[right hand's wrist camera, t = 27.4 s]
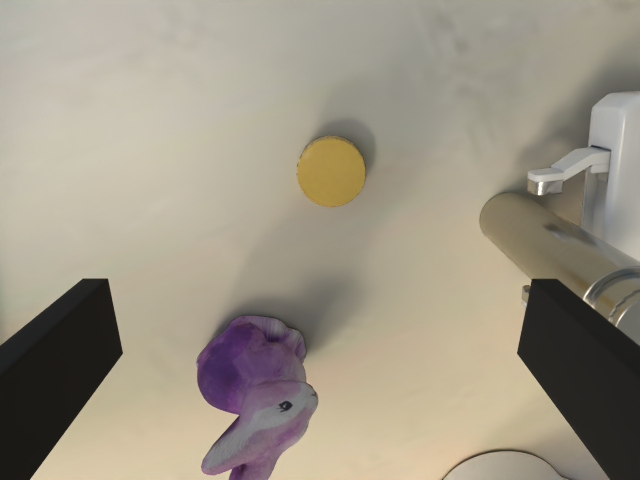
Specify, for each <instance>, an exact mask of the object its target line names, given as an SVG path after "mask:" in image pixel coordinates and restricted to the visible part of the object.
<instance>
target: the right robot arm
mask: <svg viewBox="0 0 640 480" xmlns="http://www.w3.org/2000/svg"><path fill="white" fill-rule="evenodd" d="M122 354H123V351H122V346H121V341H120V336H119V331H118V326H117V322H116V317H115V312H114V307H113V302H112V297H111V292H110V287H109V282H108V279H82V280H81V281H80V282H78V283H77V284H76V285H75V286H73V287H72V288H71V289H70V290H68V291H67V292H66V293H65V294H64V295H62V296H61V297H60V298H59V299H57V300H56V301H55V302H54V303H52V304H51V305H50V306H49V307H48V308H46V309H45V310H44V311H43V312H41V313H40V314H39V315H38V316H36V317H35V318H34V319H33V320H32V321H30V322H29V323H28V324H27V325H25V326H24V327H23V328H22V329H20V330H19V331H18V332H17V333H16V334H14V335H13V336H12V337H11V338H9V339H8V340H7V341H6V342H4V343H3V344H2V345H1V346H0V480H30V479H31V477H32V476H33V475H34V473H35V472H36V471H37V469H38V468H39V467H40V465H41V464H42V462H43V461H44V460H45V458H46V457H47V456H48V454H49V453H50V452H51V450H52V449H53V448H54V446H55V445H56V443H57V442H58V441H59V439H60V438H61V437H62V435H63V434H64V433H65V431H66V430H67V429H68V427H69V426H70V424H71V423H72V422H73V420H74V419H75V418H76V416H77V415H78V414H79V412H80V411H81V410H82V408H83V407H84V405H85V404H86V403H87V401H88V400H89V399H90V397H91V396H92V395H93V393H94V392H95V391H96V389H97V388H98V386H99V385H100V384H101V382H102V381H103V380H104V378H105V377H106V376H107V374H108V373H109V372H110V370H111V369H112V368H113V366H114V365H115V363H116V362H117V361H118V359H119V358H120V357H121V355H122ZM517 354H518V355H519V357H520V358H521V359H522V361H523V362H524V363H525V365H526V366H527V368H528V369H529V370H530V372H531V373H532V374H533V376H534V377H535V378H536V380H537V381H538V382H539V384H540V385H541V386H542V388H543V389H544V391H545V392H546V393H547V395H548V396H549V397H550V399H551V400H552V401H553V403H554V404H555V405H556V407H557V408H558V410H559V411H560V412H561V414H562V415H563V416H564V418H565V419H566V420H567V422H568V423H569V424H570V426H571V427H572V429H573V430H574V431H575V433H576V434H577V435H578V437H579V438H580V439H581V441H582V442H583V443H584V445H585V446H586V448H587V449H588V450H589V452H590V453H591V454H592V456H593V457H594V458H595V460H596V461H597V462H598V464H599V465H600V467H601V468H602V469H603V471H604V472H605V473H606V475H607V476H608V477H609V479H610V480H640V346H639V345H638V344H637V343H636V342H634V341H633V340H632V339H631V338H629V337H628V336H627V335H626V334H624V333H623V332H622V331H621V330H620V329H618V328H617V327H616V326H615V325H613V324H612V323H611V322H610V321H608V320H607V319H606V318H605V317H604V316H602V315H601V314H600V313H599V312H597V311H596V310H595V309H594V308H592V307H591V306H590V305H589V304H588V303H586V302H585V301H584V300H583V299H581V298H580V297H579V296H578V295H576V294H575V293H574V292H573V291H572V290H570V289H569V288H568V287H567V286H565V285H564V284H563V283H562V282H560V281H559V280H558V279H532V282H531V287H530V292H529V297H528V302H527V307H526V312H525V317H524V322H523V326H522V331H521V336H520V341H519V346H518V351H517Z"/></svg>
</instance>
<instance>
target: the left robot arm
mask: <svg viewBox="0 0 640 480" xmlns="http://www.w3.org/2000/svg"><path fill="white" fill-rule="evenodd" d="M582 170H583V171H586V173H585V183H584V194H583V204H582V214H581V225H580V228H581V229H583V230H585V231H587V232H588V233H590V234H592V235H594V236H595V237H597V238H599V239H601V240H603V241H604V242H606V243H608V244H610V245H611V246H613V247H615V248H617V249H618V250H620V251H622V252H624V253H625V254H627V255H629V256H631V257H633V258H634V259H636V260H638V261H640V91H632V92H617V93H610V94H607V95H606V96H605V97H604V98H602V99H601V100H600V101H599V102H598V103H596V104H595V105H594V106H593V108H592V112H591V121H590V132H589V142H588V148H580V149H574V150H573V151H571V152H570V153H569V154H567V155H566V156H564V157H563V158H561V159H560V160H559V161H557V162H556V163H554V164H553V165H551V168H543V169H535V170H530V171H528V178H527V191H528V192H531V193H532V194H534V195H546V194H547V193H551V194H556V193H562V186H563V181H566V180H567V179H569V178H570V177H572V176H574V175H575V174H577V173H579V172H580V171H582ZM530 287H531V286H530V285H525V286H523V289H522V305H523V306H524V307H525V308H526V307H527V302H528V297H529V292H530ZM444 480H568V479H566V478H563V477H561V476H560V475H559V474H558V473H557V472H556V471H555V470H554V469H553V468H552V467H551V466H550V465H549V464H548V463H546V462H545V461H543V460H542V459H540V458H538V457H536V456H533V455H530V454H526V453H521V452H514V451H501V452H492V453H487V454H483V455H480V456H477V457H474V458H472V459H469V460H467V461H465V462H463V463H462V464H460V465H459V466H457V467H456V468H454V469H453V470H452V471H451V472H450V473H449V474H448V475H447V476H446V477H445V478H444Z"/></svg>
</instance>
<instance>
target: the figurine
mask: <svg viewBox="0 0 640 480" xmlns="http://www.w3.org/2000/svg"><path fill="white" fill-rule="evenodd" d="M304 344H305V343H304V338H303V336H302V334H301V333H300V332H299V331H298V330H294V329H291V328H288V327H286V326H285V324H284V323H283V322H282V321H280V320H278V319H274V318H270V317H268V318H267V317H262V316H251V315H250V316H247V315H245V316H240V317H238V318H236V319H234V320H233V321H232V322H231V323H230V325H229V326H228V327H227V328H226V330H225V331H224V332H223V333H222V334H221V335H219V336H217V337H216V338H214V339H213V340H212V341H210V343H209V344H208V345H207V346H206V347H205V348H204V349H203V351H202V352H201V353H200V354H199V356H198V358H197V360H196V366H197V367H198V370H197V380H198V386H199V389H200V392H201V393H202V395H203V397H204V399H205V400H206V401H207V402H208V403H209V404H210V405H212V406H214V407H216V408H218V409H220V410H223V411H226V412H230V413H234V414H238V415H239V416H238V418H237V419H236V420H235V421H234V422H233V423H232V424H231V425H230V426H229V428H228V429H227V430H226V431H225V432H224V433H223V434H222V435H221V436H220V438H219V439H218V440H217V441H216V442H215V443H214V444H213V446H212V447H211V449H210V450H209V452H208V453H207V455H206V456H205V458H204V459H203V462H202V465H201V468H202V471H203V473H204V474H207V475H216V474H220V473H223V472H225V471H228V470H230V469H232V468H233V469H232V472H231V474H230V477H229V480H268V478H269V477H270V475H271V473H272V471H273V469H274V467H275V464H276V461H277V460H278V458H279V456H280V455H281V454H282V453H283V452H284V451H285V450H286V449H288V448H289V447H291V446H292V445H294V444H295V443H297V442H298V441H299V440H300V439H301V437H302V436H303V435H304V433H305V432H306V430H307V427H308V423H309V420H310V418H311V416H312V415H313V413H314V411H315V410H316V408H317V405H318V395H317V393H316V392H315V390H314V389H313V387H312V386H311V385H310V384H308V383H306V373H305V369H304V366H303V365H302V363H303V362H304V359H305V357H306V356H305V355H306V349H305V345H304Z"/></svg>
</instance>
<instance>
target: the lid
mask: <svg viewBox="0 0 640 480" xmlns="http://www.w3.org/2000/svg"><path fill="white" fill-rule="evenodd" d="M297 167H298V169H297V176H298V183H299V185H300V187H301V189H302V191H303V192H304V194H305V195H306V196H307V197H308V198H309V199H310V200H312V201H313V202H315V203H317V204H319V205H322V206H329V207H334V206H340V205H343V204H345V203H348V202H349V201H351V200H352V199H353V198H355V197H356V195H357V194H358V193H359V192H360V190H361V188H362V186H363V184H364V181H365V176H366V173H365V167H366V166H365V164H364V161H363V156H362V154H360V152H359V150H358V148H357V147H355V145H353V144H352V142H351V141H348V140H347V139H345V138H344V137H343V138H342V137H339V136H336V135H335V136H328V135H327V136H324V137H318V139H316V140H314V141H313V142H312V141H311V143H310V144H309V145H308V146H307V147H305V149H304V152H303V154H301V156H300V161H299V162H298V165H297Z"/></svg>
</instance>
